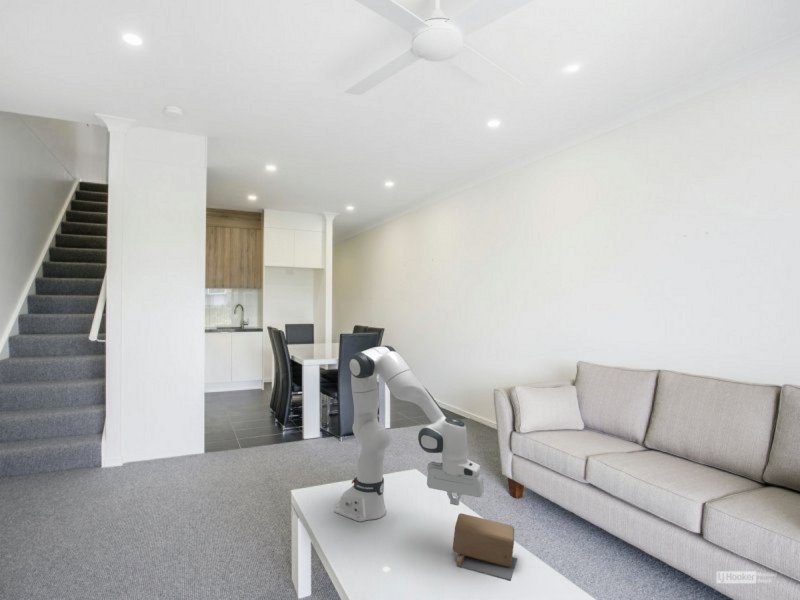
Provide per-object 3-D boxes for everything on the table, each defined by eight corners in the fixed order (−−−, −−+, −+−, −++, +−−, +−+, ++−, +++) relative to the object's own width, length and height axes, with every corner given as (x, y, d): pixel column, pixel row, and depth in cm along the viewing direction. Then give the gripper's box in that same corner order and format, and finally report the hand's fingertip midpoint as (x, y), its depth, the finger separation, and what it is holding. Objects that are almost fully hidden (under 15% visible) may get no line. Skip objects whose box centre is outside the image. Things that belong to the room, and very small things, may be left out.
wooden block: (451, 553, 149) (511, 569, 143) (455, 525, 148) (514, 539, 143) (455, 538, 158) (511, 552, 153) (458, 511, 158) (514, 525, 153)
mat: (456, 566, 145) (456, 560, 145) (466, 547, 157) (466, 541, 157) (510, 580, 138) (510, 574, 138) (517, 559, 150) (517, 553, 150)
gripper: (424, 463, 154) (424, 502, 154) (480, 472, 145) (480, 513, 145) (430, 457, 160) (430, 495, 159) (484, 466, 151) (484, 506, 151)
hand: (454, 504), depth 152 cm, fingers closed
